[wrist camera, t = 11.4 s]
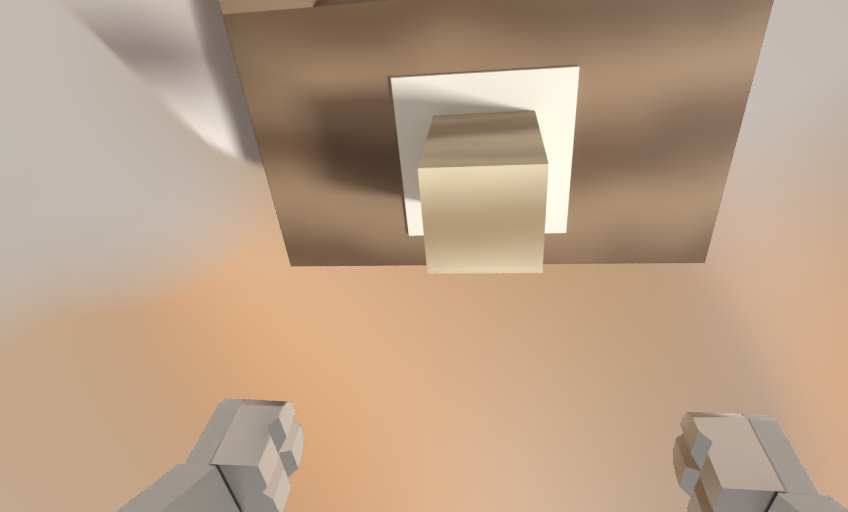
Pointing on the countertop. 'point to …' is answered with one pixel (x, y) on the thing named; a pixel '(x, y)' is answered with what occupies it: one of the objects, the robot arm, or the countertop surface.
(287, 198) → the pocket board
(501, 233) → the ash block
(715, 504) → the robot arm
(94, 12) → the countertop surface
